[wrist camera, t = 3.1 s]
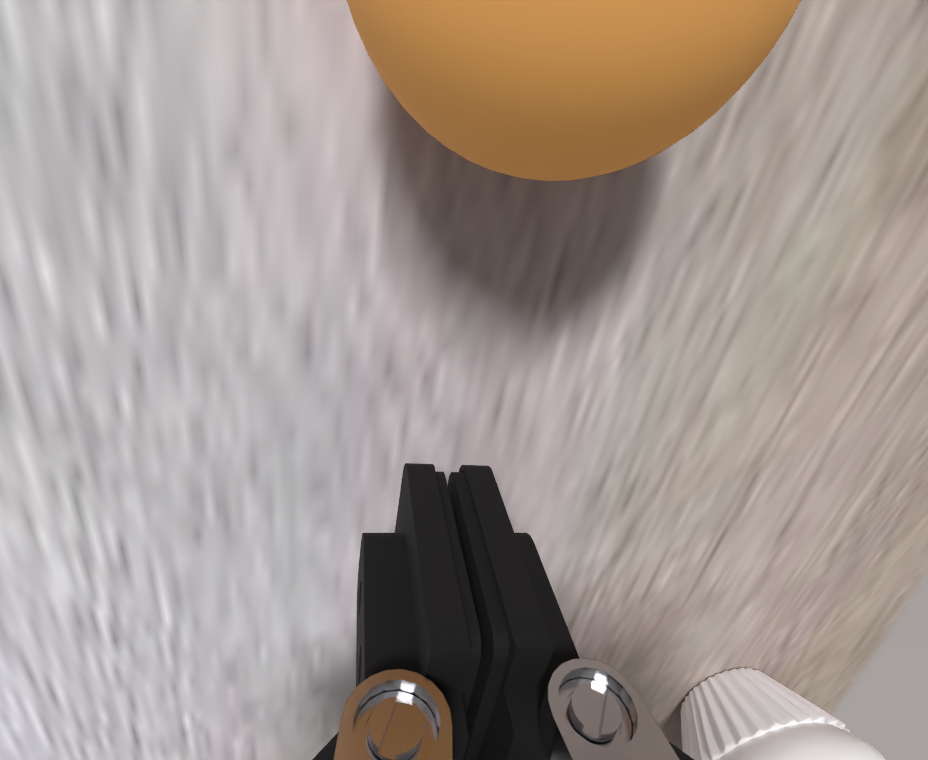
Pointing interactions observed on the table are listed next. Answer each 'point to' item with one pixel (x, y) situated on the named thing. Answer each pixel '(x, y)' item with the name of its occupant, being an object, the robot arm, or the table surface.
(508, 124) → the ball
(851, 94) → the table surface
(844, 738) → the muffin
